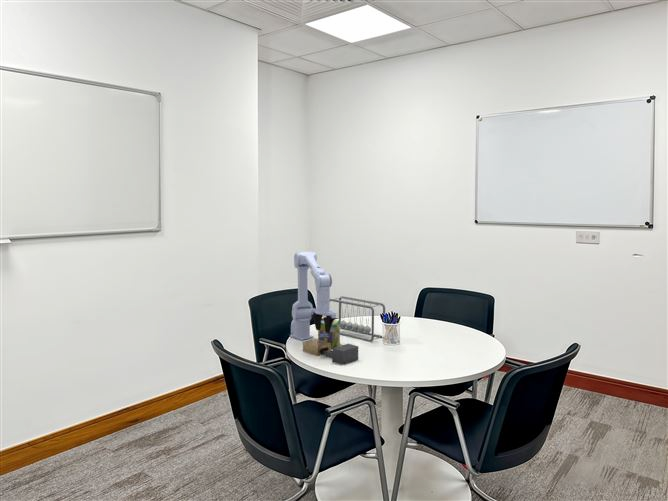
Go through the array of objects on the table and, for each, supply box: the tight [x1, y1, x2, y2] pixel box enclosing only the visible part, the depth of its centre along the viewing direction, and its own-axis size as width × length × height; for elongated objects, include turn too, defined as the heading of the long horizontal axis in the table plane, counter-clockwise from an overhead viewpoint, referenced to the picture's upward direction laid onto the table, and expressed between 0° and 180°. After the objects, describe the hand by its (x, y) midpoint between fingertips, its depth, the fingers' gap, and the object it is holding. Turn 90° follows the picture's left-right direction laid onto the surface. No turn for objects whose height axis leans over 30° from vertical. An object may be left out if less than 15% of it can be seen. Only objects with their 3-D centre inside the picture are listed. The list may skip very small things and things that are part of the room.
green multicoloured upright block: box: [317, 316, 341, 349], centre depth 243 cm, size 9×9×15 cm
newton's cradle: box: [330, 295, 386, 343], centre depth 261 cm, size 30×10×18 cm, turn 49°
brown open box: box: [302, 338, 332, 357], centre depth 233 cm, size 10×8×4 cm
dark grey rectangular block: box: [324, 343, 359, 366], centre depth 223 cm, size 14×10×6 cm
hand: (322, 331), depth 230 cm, fingers open, 5 cm apart
